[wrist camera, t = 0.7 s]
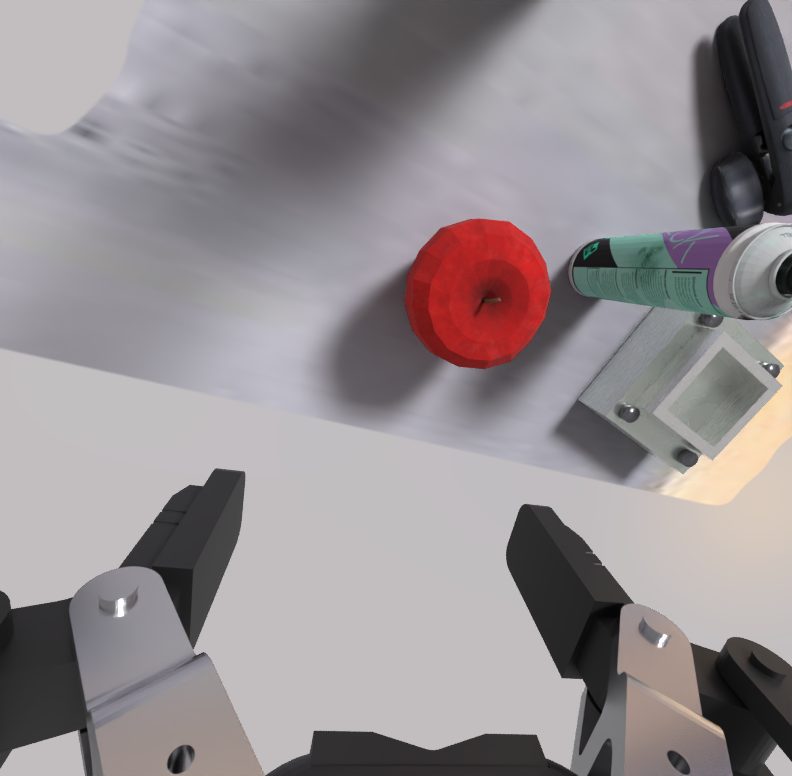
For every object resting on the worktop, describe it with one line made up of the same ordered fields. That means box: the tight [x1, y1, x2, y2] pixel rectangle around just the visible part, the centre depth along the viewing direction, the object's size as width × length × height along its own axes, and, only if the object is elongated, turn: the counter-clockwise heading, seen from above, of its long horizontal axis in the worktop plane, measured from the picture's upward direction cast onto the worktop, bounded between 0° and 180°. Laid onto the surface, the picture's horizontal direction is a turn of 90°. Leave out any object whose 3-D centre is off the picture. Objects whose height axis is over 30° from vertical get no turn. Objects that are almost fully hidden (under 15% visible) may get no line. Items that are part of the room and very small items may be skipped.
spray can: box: [568, 223, 792, 320], centre depth 30 cm, size 6×6×20 cm
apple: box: [404, 219, 551, 369], centre depth 32 cm, size 10×10×14 cm
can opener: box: [711, 0, 792, 227], centre depth 34 cm, size 18×7×6 cm, turn 22°
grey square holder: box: [578, 307, 784, 474], centre depth 40 cm, size 14×12×8 cm
